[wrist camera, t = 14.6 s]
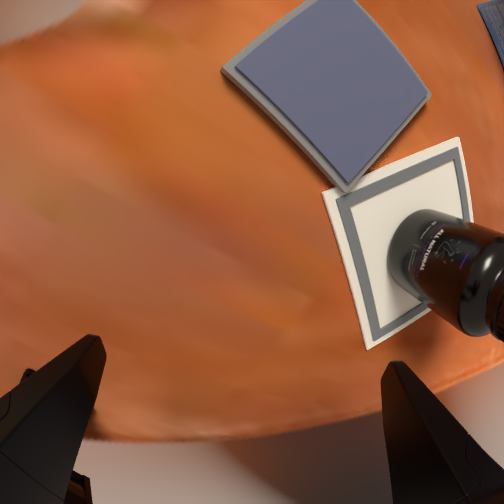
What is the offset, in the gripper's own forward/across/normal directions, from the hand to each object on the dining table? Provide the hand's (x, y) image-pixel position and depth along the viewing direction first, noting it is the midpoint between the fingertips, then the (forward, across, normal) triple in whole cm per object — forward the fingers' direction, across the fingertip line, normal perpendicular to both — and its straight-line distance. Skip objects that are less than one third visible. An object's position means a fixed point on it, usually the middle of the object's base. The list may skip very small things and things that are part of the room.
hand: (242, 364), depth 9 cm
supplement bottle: (+15, -13, +4) cm, 20 cm away
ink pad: (+16, -5, -8) cm, 19 cm away
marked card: (+16, -13, +3) cm, 20 cm away
